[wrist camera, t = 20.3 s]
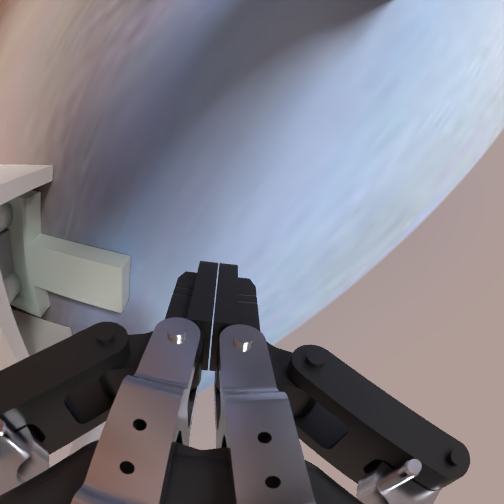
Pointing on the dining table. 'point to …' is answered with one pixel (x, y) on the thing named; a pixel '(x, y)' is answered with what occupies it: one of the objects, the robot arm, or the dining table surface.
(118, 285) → the tray
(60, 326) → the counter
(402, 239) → the dining table surface
